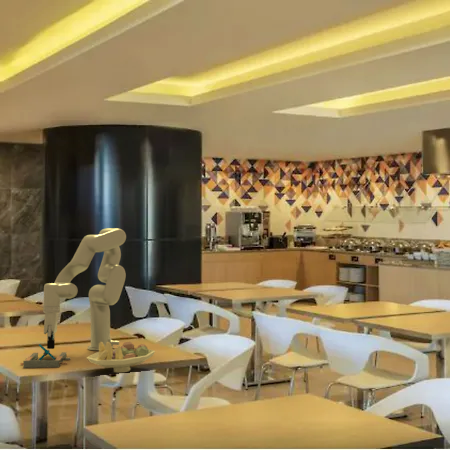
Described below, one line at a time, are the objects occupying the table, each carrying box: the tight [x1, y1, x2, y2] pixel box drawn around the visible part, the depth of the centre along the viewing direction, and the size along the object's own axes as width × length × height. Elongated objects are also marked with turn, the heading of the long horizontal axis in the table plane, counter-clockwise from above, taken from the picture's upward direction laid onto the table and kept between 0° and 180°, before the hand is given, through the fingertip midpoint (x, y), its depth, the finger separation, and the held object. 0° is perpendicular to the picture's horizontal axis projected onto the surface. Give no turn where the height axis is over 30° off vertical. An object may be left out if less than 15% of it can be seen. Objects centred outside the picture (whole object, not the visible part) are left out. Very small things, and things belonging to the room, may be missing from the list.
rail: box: [20, 351, 71, 369], centre depth 336 cm, size 20×24×3 cm
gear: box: [38, 343, 57, 360], centre depth 341 cm, size 11×6×10 cm
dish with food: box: [86, 341, 156, 373], centre depth 315 cm, size 28×28×14 cm
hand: (50, 348), depth 354 cm, fingers closed
